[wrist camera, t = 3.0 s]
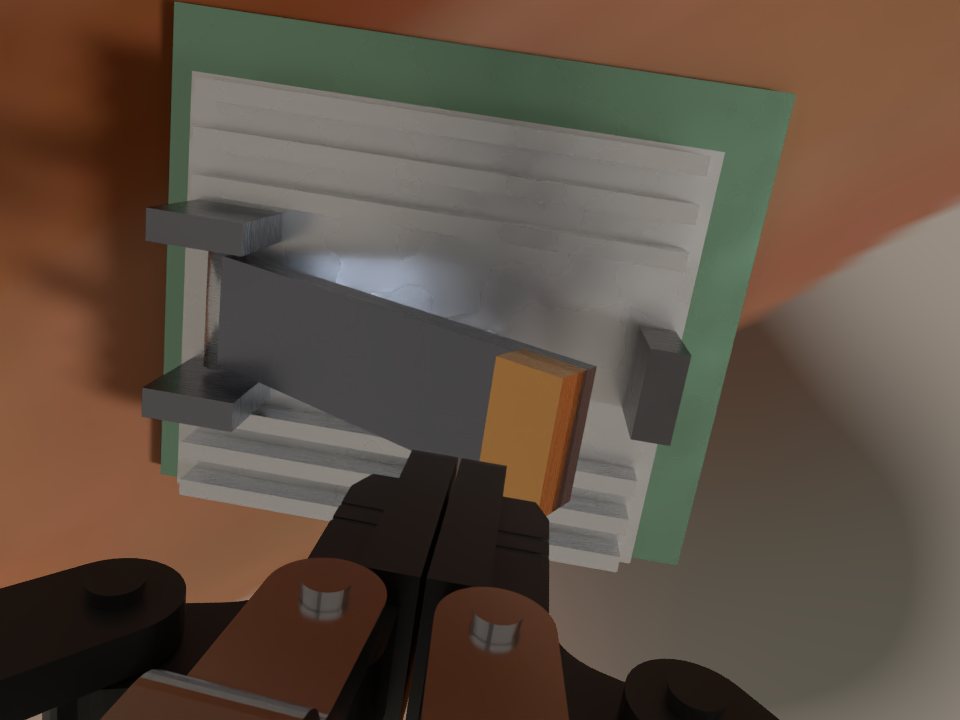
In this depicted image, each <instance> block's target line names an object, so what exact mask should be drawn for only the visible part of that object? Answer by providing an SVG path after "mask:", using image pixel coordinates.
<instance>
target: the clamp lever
mask: <svg viewBox="0 0 960 720" xmlns="http://www.w3.org/2000/svg"><path fill="white" fill-rule="evenodd" d="M203 366H204V367H206V368H208V369H211V370H216V371H234V372H237V373H239V374H241V375H243V376H246V377H248V378H250V379H252V380H255V381H257V382H259V383H261V384H263V385H266V386H268V387H270V388H272V389H275V390H277V391H279V392H281V393H284V394H286V395H288V396H290V397H293V398H295V399H297V400H299V401H301V402H304V403H306V404H308V405H310V406H313V407H315V408H317V409H319V410H322V411H324V412H326V413H328V414H330V415H333V416H335V417H337V418H339V419H342V420H344V421H346V422H348V423H351V424H353V425H355V426H357V427H360V428H362V429H364V430H366V431H368V432H371V433H373V434H375V435H377V436H380V437H382V438H384V439H386V440H389V441H391V442H393V443H395V444H397V445H400V446H402V447H404V448H406V449H409V450H411V451H412V450H419V451H425V452H430V453H436V454H442V455H448V456H453V457H458V466H457V471H458V469H459V465H460V462H461V459H462V458H465V459H471V460H477V461H482V462H488V463H494V464H500V465H505V466H507V470H506V477H505V485H504V492H503V497H509V498H515V499H520V500H526V501H532V502H536V503H537V504H538V506H539V507H540V509H541V510H542V511H543V513H544V514H545V515H546V516H548V515H549V514H551V513H552V512H554V511H555V510H557V509H558V508H560V507H562V506H563V505H565V504H566V503H568V502H569V501H570V498H571V493H572V488H573V483H574V478H575V473H576V468H577V463H578V458H579V453H580V448H581V443H582V438H583V433H584V428H585V423H586V418H587V413H588V408H589V403H590V398H591V393H592V388H593V383H594V378H595V373H596V368H597V366H594V365H591V364H588V363H585V362H582V361H578V360H575V359H572V358H569V357H566V356H563V355H560V354H557V353H553V352H550V351H547V350H544V349H541V348H538V347H535V346H532V345H528V344H525V343H522V342H519V341H516V340H513V339H510V338H507V337H503V336H500V335H497V334H494V333H491V332H488V331H485V330H481V329H478V328H475V327H472V326H469V325H466V324H463V323H460V322H456V321H453V320H450V319H447V318H444V317H441V316H438V315H435V314H431V313H428V312H425V311H422V310H419V309H416V308H413V307H410V306H406V305H403V304H400V303H397V302H394V301H391V300H388V299H385V298H381V297H378V296H375V295H372V294H369V293H366V292H363V291H360V290H356V289H353V288H350V287H347V286H344V285H341V284H338V283H335V282H331V281H328V280H325V279H322V278H319V277H316V276H313V275H309V274H306V273H303V272H300V271H297V270H294V269H291V268H288V267H284V266H281V265H278V264H275V263H272V262H269V261H266V260H263V259H259V258H256V257H253V256H250V255H244V256H242V257H241V256H235V255H229V254H223V253H217V252H211V251H208V265H207V287H206V310H205V332H204V355H203Z"/></svg>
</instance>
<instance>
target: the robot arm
mask: <svg viewBox="0 0 960 720" xmlns="http://www.w3.org/2000/svg"><path fill="white" fill-rule="evenodd" d="M457 466H458V457H453V456H448V455H442V454H436V453H430V452H425V451H419V450H412V451H411V453H410V455H409V457H408V460H407V462H406V464H405V466H404V468H403V470H402V472H401V475H400V477H399V478H396V477H390V476H384V475H379V474H371V475H370V476H368V477H366V478H364V479H362V480H360V481H359V482H357V483H355V484H353V485H351V487H350V489H349V490H348V492H347V494H346V495H345V497H344V499H343V500H342V502H341V506H340V505H339V507H338V509H337V510H336V512H335V514H334V515H333V519H332V520H330V522H329V524H328V525H327V527H326V529H325V530H324V532H323V534H322V535H321V537H320V539H319V540H318V542H317V544H316V545H315V547H314V549H313V550H312V552H311V554H310V555H309V557H308V559H303V560H299V561H295V562H292V563H289V564H286V565H284V566H282V567H280V568H278V569H277V570H275V571H274V572H273V573H272V574H271V575H270V576H269V577H267V579H266V580H265V581H264V582H263V584H262V585H261V586H260V587H259V588H258V590H257V591H256V592H255V593H254V594H253V596H252V597H251V598H250V599H249V600H246V601H239V602H224V603H186V584H185V582H184V579H183V578H182V576H181V575H180V574H179V573H178V572H177V571H175V570H174V569H173V568H171V567H169V566H167V565H165V564H162V563H159V562H156V561H151V560H146V559H137V558H119V559H109V560H102V561H97V562H93V563H89V564H85V565H82V566H78V567H75V568H71V569H68V570H64V571H61V572H57V573H54V574H50V575H47V576H43V577H40V578H36V579H33V580H29V581H26V582H22V583H18V584H15V585H11V586H8V587H4V588H1V589H0V720H26V719H28V718H31V717H33V716H36V715H38V714H41V713H42V720H403V717H404V714H405V710H406V706H407V702H408V707H407V714H406V720H779V719H778V718H777V717H775V716H774V715H773V714H772V713H770V712H769V711H768V710H767V709H766V708H764V707H763V706H762V705H761V704H759V703H758V702H757V701H756V700H754V699H753V698H752V697H751V696H749V695H748V694H747V693H746V692H745V691H743V690H742V689H741V688H739V687H738V686H737V685H736V684H734V683H733V682H731V681H730V680H729V679H727V678H725V677H724V676H722V675H720V674H719V673H717V672H715V671H712V670H710V669H708V668H705V667H703V666H700V665H698V664H694V663H691V662H687V661H682V660H676V659H656V660H650V661H646V662H643V663H641V664H639V665H637V666H636V667H635V668H633V669H632V670H631V672H630V673H629V674H628V676H627V679H626V681H625V682H623V681H620V680H618V679H615V678H613V677H611V676H608V675H606V674H603V673H601V672H599V671H597V670H595V669H593V668H590V667H589V666H587V665H585V664H584V663H582V662H580V661H578V660H577V659H576V658H575V657H573V656H572V655H571V654H569V653H568V652H567V651H566V650H565V649H564V648H563V647H562V646H561V645H560V643H559V640H558V633H557V628H556V624H555V622H554V621H553V619H552V617H551V616H550V615H549V519H548V518H547V517H546V515H545V514H544V513H543V511H542V510H541V509H540V507H539V506H538V504H537V503H536V502H532V501H526V500H520V499H515V498H509V497H503V492H504V485H505V477H506V470H507V466H505V465H500V464H494V463H488V462H482V461H477V460H471V459H465V458H462V459H461V462H460V465H459V469H458V472H457ZM456 473H457V476H456ZM408 699H409V701H408Z"/></svg>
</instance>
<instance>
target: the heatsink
mask: <svg viewBox="0 0 960 720" xmlns="http://www.w3.org/2000/svg"><path fill="white" fill-rule="evenodd" d="M795 96H796V94H792V93H785V92H779V91H772V90H765V89H758V88H752V87H745V86H738V85H731V84H725V83H718V82H711V81H705V80H698V79H691V78H684V77H678V76H671V75H664V74H658V73H651V72H644V71H637V70H631V69H624V68H617V67H611V66H604V65H597V64H590V63H584V62H577V61H570V60H564V59H557V58H550V57H543V56H537V55H530V54H523V53H516V52H510V51H503V50H496V49H490V48H483V47H476V46H469V45H463V44H456V43H449V42H443V41H436V40H429V39H422V38H416V37H409V36H402V35H396V34H389V33H382V32H375V31H369V30H362V29H355V28H348V27H342V26H335V25H328V24H322V23H315V22H308V21H301V20H295V19H288V18H281V17H275V16H268V15H261V14H254V13H248V12H241V11H234V10H228V9H221V8H214V7H207V6H201V5H194V4H187V3H181V2H174V29H173V63H172V97H171V132H170V166H169V201H168V204H166V205H159V206H153V207H147V208H146V237H145V241H150V242H156V243H162V244H167V269H166V304H165V338H164V372H163V376H161V377H159V378H158V379H156V380H154V381H153V382H151V383H149V384H148V385H146V386H144V387H143V388H142V417H147V418H153V419H158V420H162V441H161V474H165V475H171V476H176V477H177V483H180V490H179V494H180V495H185V496H191V497H197V498H202V499H208V500H213V501H219V502H225V503H230V504H236V505H242V506H247V507H253V508H258V509H264V510H270V511H275V512H281V513H286V514H292V515H298V516H303V517H309V518H314V519H320V520H326V521H330V520H332V519H333V515H334V514H335V512H336V510H337V509H338V507H339V505H340V506H341V502H342V500H343V499H344V497H345V495H346V494H347V492H348V490H349V489H350V487H351V485H353V484H355V483H357V482H359V481H360V480H362V479H364V478H366V477H368V476H370V475H371V474H379V475H384V476H390V477H396V478H399V477H400V475H401V472H402V470H403V468H404V466H405V464H406V462H407V460H408V457H409V455H410V453H411V450H409V449H406V448H404V447H402V446H400V445H397V444H395V443H393V442H391V441H389V440H386V439H384V438H382V437H380V436H377V435H375V434H373V433H371V432H368V431H366V430H364V429H362V428H360V427H357V426H355V425H353V424H351V423H348V422H346V421H344V420H342V419H339V418H337V417H335V416H333V415H330V414H328V413H326V412H324V411H322V410H319V409H317V408H315V407H313V406H310V405H308V404H306V403H304V402H301V401H299V400H297V399H295V398H293V397H290V396H288V395H286V394H284V393H281V392H279V391H277V390H275V389H272V388H270V387H268V386H266V385H263V384H261V383H259V382H257V381H255V380H252V379H250V378H248V377H246V376H243V375H241V374H239V373H237V372H234V371H216V370H211V369H208V368H206V367H204V366H203V355H204V332H205V310H206V287H207V265H208V251H211V252H217V253H223V254H229V255H235V256H241V257H242V256H244V255H250V256H253V257H256V258H259V259H263V260H266V261H269V262H272V263H275V264H278V265H281V266H284V267H288V268H291V269H294V270H297V271H300V272H303V273H306V274H309V275H313V276H316V277H319V278H322V279H325V280H328V281H331V282H335V283H338V284H341V285H344V286H347V287H350V288H353V289H356V290H360V291H363V292H366V293H369V294H372V295H375V296H378V297H381V298H385V299H388V300H391V301H394V302H397V303H400V304H403V305H406V306H410V307H413V308H416V309H419V310H422V311H425V312H428V313H431V314H435V315H438V316H441V317H444V318H447V319H450V320H453V321H456V322H460V323H463V324H466V325H469V326H472V327H475V328H478V329H481V330H485V331H488V332H491V333H494V334H497V335H500V336H503V337H507V338H510V339H513V340H516V341H519V342H522V343H525V344H528V345H532V346H535V347H538V348H541V349H544V350H547V351H550V352H553V353H557V354H560V355H563V356H566V357H569V358H572V359H575V360H578V361H582V362H585V363H588V364H591V365H594V366H597V368H596V373H595V378H594V383H593V388H592V393H591V398H590V403H589V408H588V413H587V418H586V423H585V428H584V433H583V438H582V443H581V448H580V453H579V458H578V463H577V468H576V473H575V478H574V483H573V488H572V493H571V498H570V501H569V502H568V503H566V504H565V505H563V506H562V507H560V508H558V509H557V510H555V511H554V512H552V513H551V514H549V515H548V516H546V517H547V518H548V519H549V560H550V561H556V562H561V563H568V564H572V565H578V566H584V567H590V568H595V569H600V570H606V571H612V572H617V570H618V565H619V562H625V563H630V561H631V557H634V558H639V559H645V560H651V561H656V562H662V563H667V564H673V565H677V564H678V561H679V557H680V553H681V549H682V545H683V541H684V536H685V533H686V529H687V525H688V521H689V517H690V513H691V508H692V505H693V501H694V497H695V493H696V489H697V485H698V481H699V476H700V473H701V469H702V465H703V461H704V457H705V453H706V449H707V445H708V441H709V437H710V434H711V430H712V425H713V422H714V418H715V414H716V410H717V406H718V402H719V398H720V394H721V390H722V386H723V382H724V378H725V374H726V370H727V366H728V362H729V358H730V354H731V350H732V346H733V342H734V338H735V334H736V330H737V326H738V322H739V318H740V314H741V311H742V307H743V303H744V299H745V295H746V291H747V287H748V283H749V279H750V275H751V271H752V267H753V263H754V259H755V255H756V251H757V247H758V243H759V239H760V235H761V231H762V227H763V223H764V219H765V215H766V211H767V207H768V203H769V199H770V195H771V191H772V188H773V184H774V180H775V176H776V172H777V168H778V164H779V160H780V156H781V152H782V148H783V144H784V140H785V136H786V132H787V128H788V124H789V120H790V116H791V112H792V108H793V104H794V100H795ZM457 472H458V471H457ZM456 476H457V473H456Z"/></svg>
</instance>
